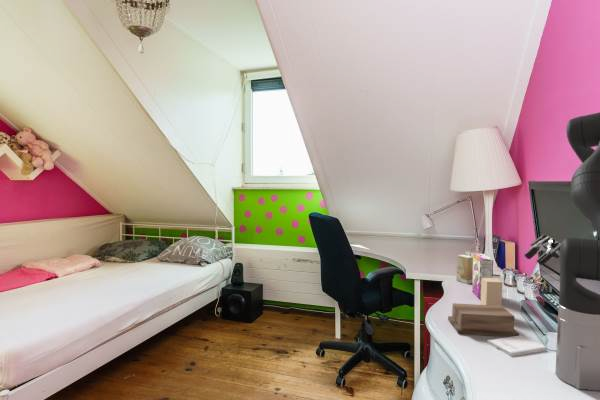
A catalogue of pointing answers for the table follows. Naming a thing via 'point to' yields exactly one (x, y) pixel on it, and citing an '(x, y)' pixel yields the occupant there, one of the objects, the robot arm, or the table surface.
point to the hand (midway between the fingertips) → (532, 260)
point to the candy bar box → (481, 271)
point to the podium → (482, 320)
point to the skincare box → (464, 269)
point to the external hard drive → (517, 345)
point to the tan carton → (491, 292)
